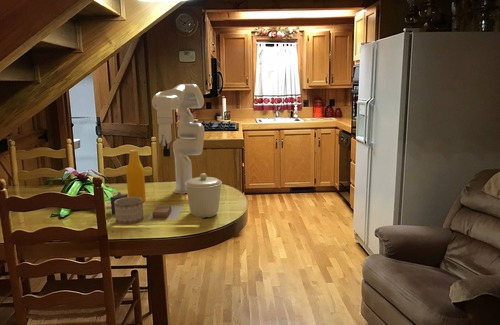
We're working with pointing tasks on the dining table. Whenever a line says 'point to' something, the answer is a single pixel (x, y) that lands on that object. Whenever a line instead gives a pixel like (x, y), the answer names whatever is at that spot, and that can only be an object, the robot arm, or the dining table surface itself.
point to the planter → (129, 210)
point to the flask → (116, 199)
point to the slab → (161, 212)
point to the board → (173, 215)
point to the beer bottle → (135, 176)
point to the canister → (203, 195)
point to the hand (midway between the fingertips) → (166, 156)
